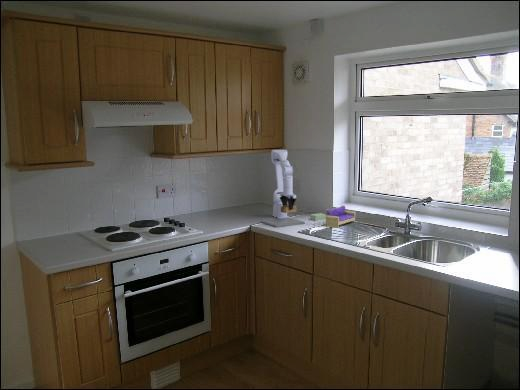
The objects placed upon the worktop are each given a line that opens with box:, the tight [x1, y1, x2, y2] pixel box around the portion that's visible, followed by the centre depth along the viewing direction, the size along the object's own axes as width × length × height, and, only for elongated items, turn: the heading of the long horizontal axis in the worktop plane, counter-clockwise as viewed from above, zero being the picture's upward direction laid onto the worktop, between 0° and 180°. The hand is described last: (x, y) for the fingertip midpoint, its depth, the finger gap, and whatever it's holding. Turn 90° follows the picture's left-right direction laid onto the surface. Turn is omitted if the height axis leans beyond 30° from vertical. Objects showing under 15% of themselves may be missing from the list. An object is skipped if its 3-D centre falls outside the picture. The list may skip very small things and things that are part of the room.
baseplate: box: [260, 216, 305, 228], centre depth 275 cm, size 18×20×1 cm
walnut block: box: [281, 204, 298, 214], centre depth 275 cm, size 6×8×4 cm
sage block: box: [309, 212, 327, 222], centre depth 285 cm, size 6×8×4 cm
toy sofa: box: [325, 205, 357, 229], centre depth 269 cm, size 21×9×10 cm, turn 139°
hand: (287, 208), depth 275 cm, fingers closed on walnut block, 5 cm apart
